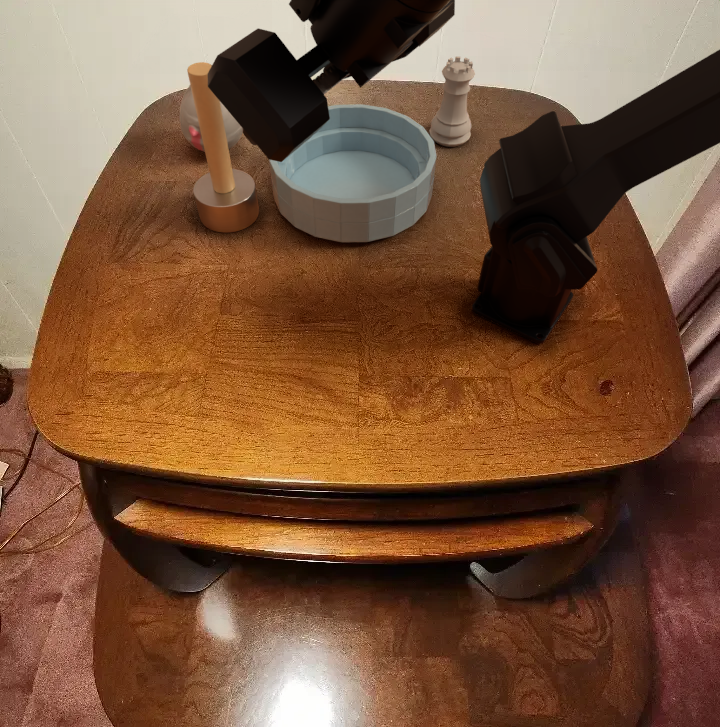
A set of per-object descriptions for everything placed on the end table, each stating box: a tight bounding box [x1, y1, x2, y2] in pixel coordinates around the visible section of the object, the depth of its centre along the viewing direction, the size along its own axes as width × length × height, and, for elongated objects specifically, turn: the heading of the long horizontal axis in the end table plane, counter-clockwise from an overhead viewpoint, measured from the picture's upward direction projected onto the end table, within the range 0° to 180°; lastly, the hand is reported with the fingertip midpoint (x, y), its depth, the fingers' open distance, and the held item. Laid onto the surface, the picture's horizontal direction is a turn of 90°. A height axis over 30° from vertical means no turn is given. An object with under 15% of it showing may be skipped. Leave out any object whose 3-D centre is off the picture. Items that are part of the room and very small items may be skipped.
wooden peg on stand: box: [186, 61, 260, 234], centre depth 53 cm, size 6×6×14 cm
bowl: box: [268, 103, 437, 243], centre depth 59 cm, size 15×15×5 cm
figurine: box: [179, 84, 243, 153], centre depth 62 cm, size 6×7×8 cm
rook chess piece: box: [429, 56, 476, 148], centre depth 63 cm, size 4×4×8 cm
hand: (290, 105), depth 46 cm, fingers open, 9 cm apart
